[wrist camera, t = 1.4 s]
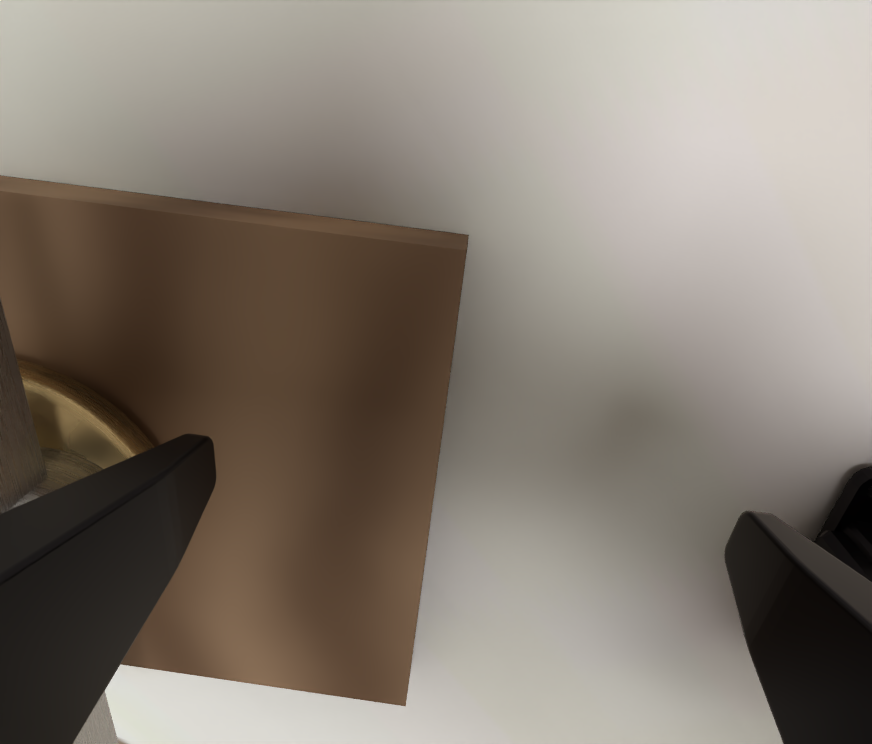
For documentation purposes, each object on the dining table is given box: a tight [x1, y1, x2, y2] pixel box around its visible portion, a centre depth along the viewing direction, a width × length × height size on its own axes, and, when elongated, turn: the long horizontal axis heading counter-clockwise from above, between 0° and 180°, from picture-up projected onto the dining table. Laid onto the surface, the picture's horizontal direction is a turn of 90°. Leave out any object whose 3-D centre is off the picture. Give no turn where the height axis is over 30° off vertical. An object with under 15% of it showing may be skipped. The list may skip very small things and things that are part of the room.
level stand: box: [0, 176, 469, 706], centre depth 16 cm, size 16×16×3 cm
